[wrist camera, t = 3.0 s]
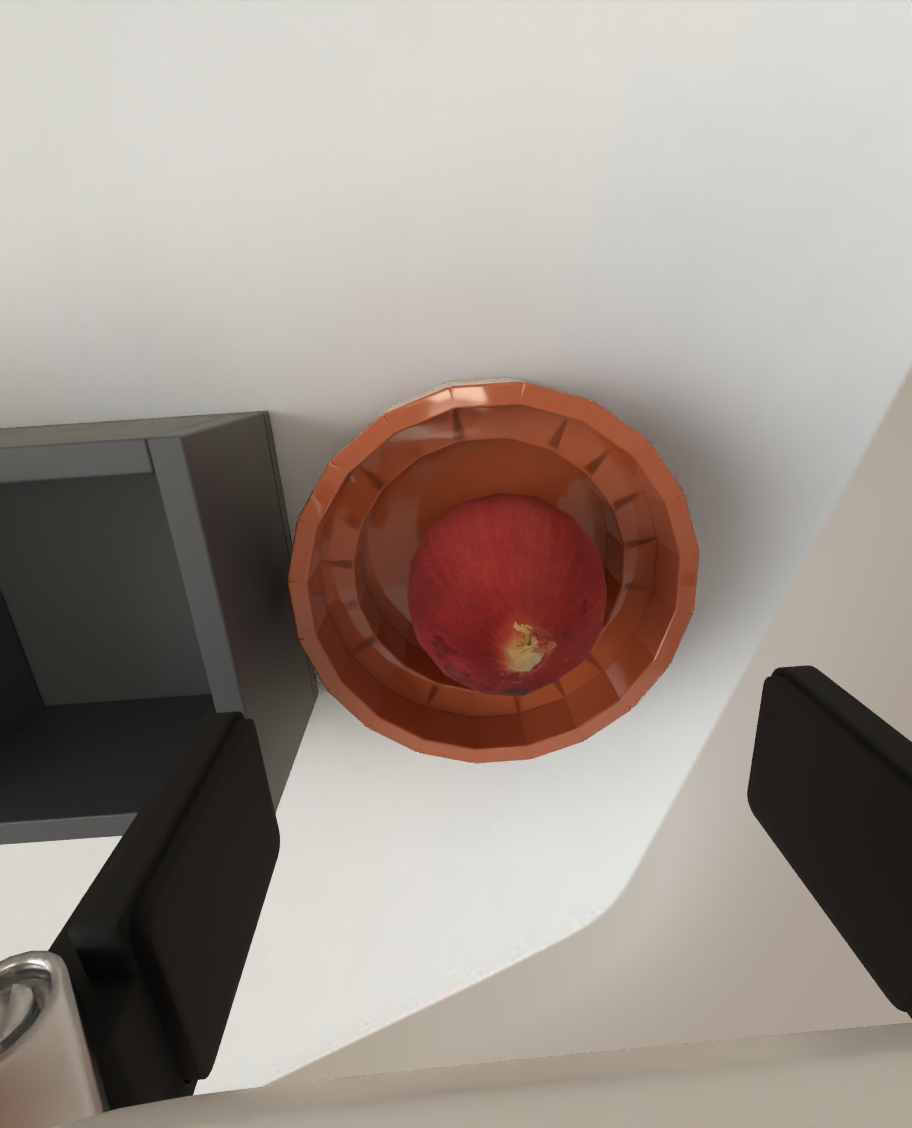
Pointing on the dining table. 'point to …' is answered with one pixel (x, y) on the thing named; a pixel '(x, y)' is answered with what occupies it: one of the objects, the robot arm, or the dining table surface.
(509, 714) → the bowl
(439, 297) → the dining table surface
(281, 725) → the bin
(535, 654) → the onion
